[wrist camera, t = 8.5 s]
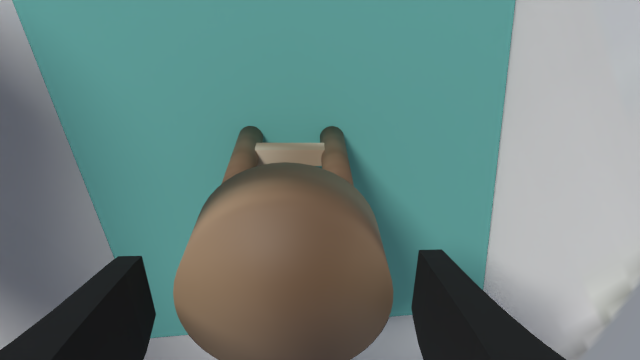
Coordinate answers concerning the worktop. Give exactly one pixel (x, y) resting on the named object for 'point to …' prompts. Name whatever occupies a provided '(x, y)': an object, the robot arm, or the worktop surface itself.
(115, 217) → the teal mat
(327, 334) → the walnut stool
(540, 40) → the worktop surface
